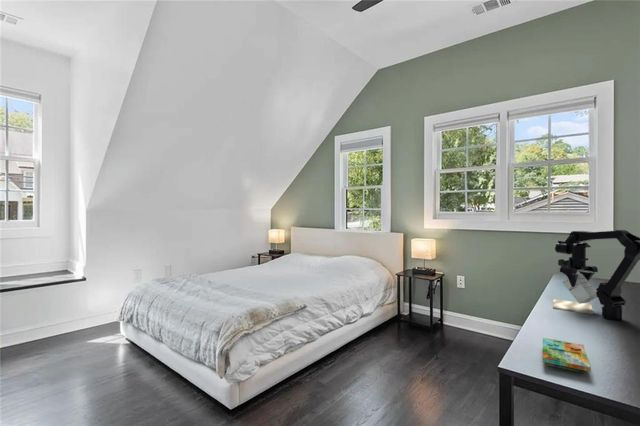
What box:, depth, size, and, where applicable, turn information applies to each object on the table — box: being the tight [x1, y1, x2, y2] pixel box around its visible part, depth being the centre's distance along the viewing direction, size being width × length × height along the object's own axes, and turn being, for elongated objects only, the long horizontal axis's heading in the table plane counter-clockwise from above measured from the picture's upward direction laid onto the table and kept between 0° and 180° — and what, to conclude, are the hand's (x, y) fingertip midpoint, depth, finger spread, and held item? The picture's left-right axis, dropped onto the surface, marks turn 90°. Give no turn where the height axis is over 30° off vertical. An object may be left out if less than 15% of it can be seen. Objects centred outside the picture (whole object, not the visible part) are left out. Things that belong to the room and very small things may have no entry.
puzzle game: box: [542, 337, 591, 374], centre depth 109 cm, size 12×5×20 cm
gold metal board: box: [552, 299, 595, 315], centre depth 170 cm, size 16×18×1 cm
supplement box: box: [561, 273, 598, 304], centre depth 166 cm, size 7×7×13 cm
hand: (578, 286), depth 166 cm, fingers closed on supplement box, 7 cm apart
